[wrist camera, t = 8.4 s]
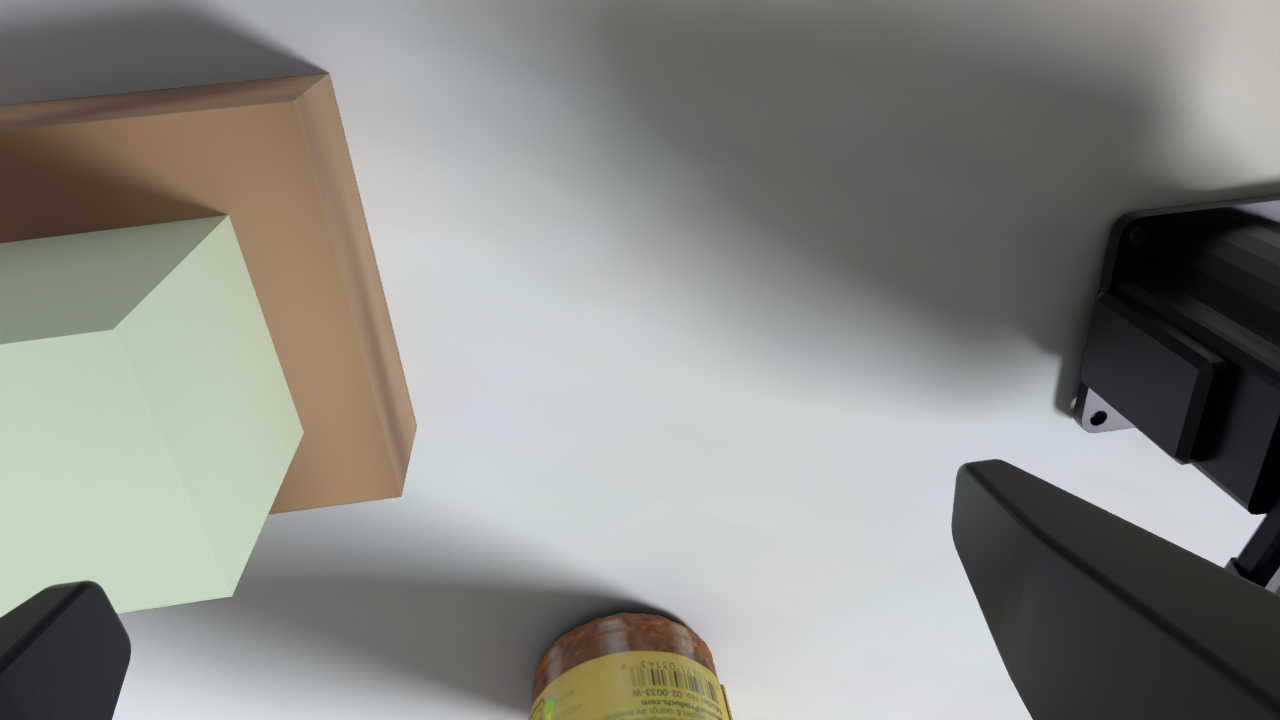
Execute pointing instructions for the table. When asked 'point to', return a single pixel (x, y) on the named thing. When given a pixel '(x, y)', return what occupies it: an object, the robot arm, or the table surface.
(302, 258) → the walnut block
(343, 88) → the table surface
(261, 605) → the table surface
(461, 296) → the table surface
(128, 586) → the sage cube
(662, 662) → the sauce bottle
